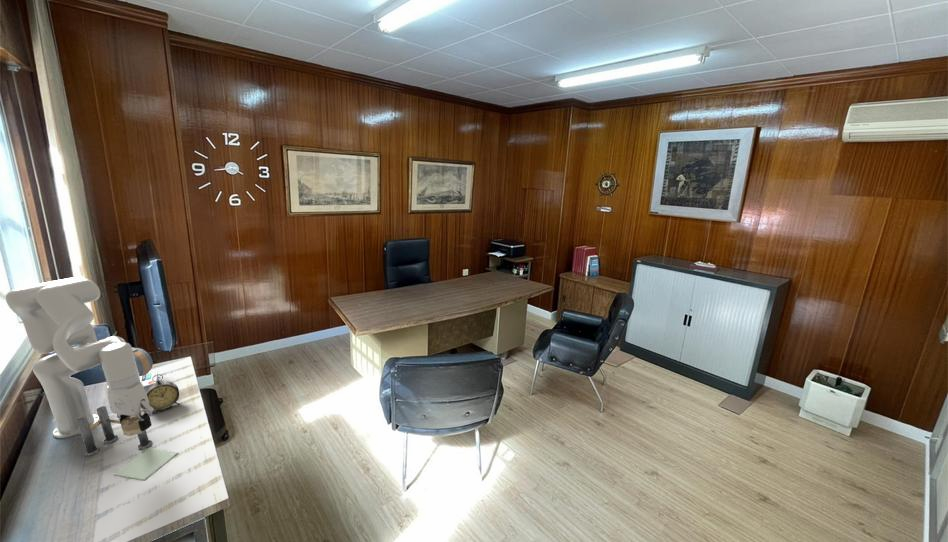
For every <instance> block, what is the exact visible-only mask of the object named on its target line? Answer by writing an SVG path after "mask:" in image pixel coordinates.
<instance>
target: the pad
mask: <svg viewBox="0 0 948 542" xmlns="http://www.w3.org/2000/svg"><path fill="white" fill-rule="evenodd" d="M178 454H179V452H178V451H173V450H172V451H171V450H168V449H167V450H166V449H160V448H159V449H158V448H153V447H148V448H146V449H145V450H144V451H142V452H141V453H140V454H139V455H138V456H136V457H135V458H134V459H132V460H131V461H129V462H128V463H126V464H125V465H124V466H123V467H121V468H120V469H118V470H117V471H115V472H114V473H113V476H116V477H117V476H118V477H123V478H127V477H128V478H129V479H133V478H134V480H139V479H140V481H146V480H148V479H149V477H151V476H152V475H154V473H156V472H157V471H159V469H161V468H162V467H163V466H165V465H166V464H167V463H168V462H169V461H171V460H172V459H173V458H174V457H175V456H177V455H178ZM128 478H127V479H128Z"/></svg>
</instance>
